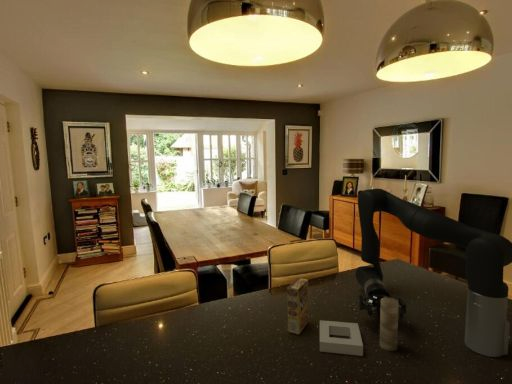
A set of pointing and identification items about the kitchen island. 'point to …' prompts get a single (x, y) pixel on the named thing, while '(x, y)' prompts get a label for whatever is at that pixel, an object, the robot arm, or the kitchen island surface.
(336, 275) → the kitchen island surface
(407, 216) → the robot arm
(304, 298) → the candy box
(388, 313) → the peg
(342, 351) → the socket block
